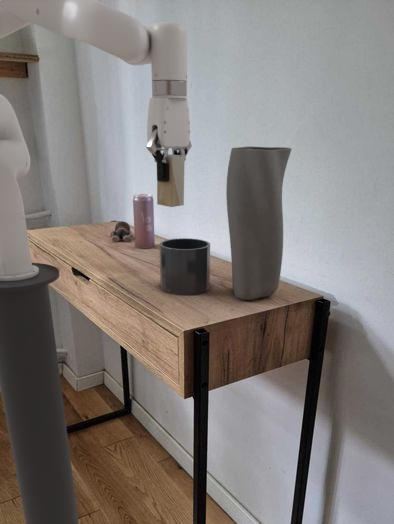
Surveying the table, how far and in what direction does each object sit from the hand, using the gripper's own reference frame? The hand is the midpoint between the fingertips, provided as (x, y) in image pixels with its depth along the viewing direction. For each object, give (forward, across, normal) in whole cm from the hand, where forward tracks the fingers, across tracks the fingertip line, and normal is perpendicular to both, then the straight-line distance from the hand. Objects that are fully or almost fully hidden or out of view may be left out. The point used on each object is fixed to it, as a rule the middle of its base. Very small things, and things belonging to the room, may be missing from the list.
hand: (170, 179), depth 112 cm
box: (+6, 0, 0) cm, 6 cm away
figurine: (+23, -20, -38) cm, 48 cm away
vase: (+22, +2, +25) cm, 34 cm away
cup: (+22, +7, +10) cm, 25 cm away
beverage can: (+23, -17, -25) cm, 37 cm away
